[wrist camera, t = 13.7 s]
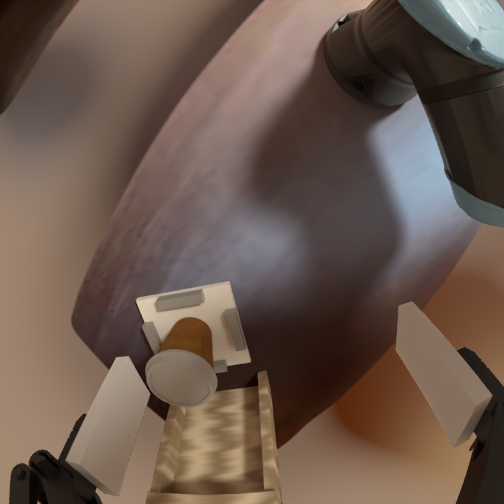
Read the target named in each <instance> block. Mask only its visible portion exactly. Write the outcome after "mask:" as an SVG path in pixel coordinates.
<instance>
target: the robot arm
mask: <svg viewBox="0 0 504 504" xmlns="http://www.w3.org/2000/svg"><path fill="white" fill-rule="evenodd" d="M324 52H325V58H326V62H327V65H328V67H329V69H330V71H331V73H332V75H333V77H334V78H335V79H336V81H337V82H338V83H339V84H340V86H341V87H342V88H343V89H344V90H345V91H347V92H348V93H349V94H350V95H352V96H353V97H355V98H356V99H358V100H360V101H362V102H364V103H366V104H369V105H372V106H377V107H391V106H396V105H400V104H403V103H405V102H407V101H409V100H411V99H412V98H413V97H414V96H415V95H416V94H417V93H418V95H419V97H420V100H421V102H422V105H423V107H424V109H425V112H426V114H427V117H428V119H429V122H430V124H431V127H432V130H433V133H434V135H435V138H436V141H437V144H438V147H439V150H440V153H441V156H442V160H443V163H444V171H445V174H446V176H447V178H448V180H449V181H450V184H451V187H452V191H453V194H454V197H455V200H456V202H457V204H458V205H459V207H460V208H461V209H463V210H464V211H465V212H466V214H467V215H469V216H470V217H472V218H473V219H475V220H477V221H479V222H482V223H484V224H488V225H492V226H496V227H504V11H503V9H502V8H501V7H500V5H499V4H498V2H497V1H496V0H373V1H372V2H371V3H370V5H369V6H368V7H367V8H366V9H363V10H359V11H355V12H352V13H349V14H346V15H344V16H343V17H341V18H340V19H338V20H337V21H336V22H335V24H334V25H333V26H332V27H331V29H330V30H329V32H328V34H327V36H326V39H325V45H324ZM396 351H397V353H398V355H399V356H400V358H401V359H402V361H403V362H404V364H405V365H406V367H407V369H408V370H409V372H410V374H411V375H412V376H413V378H414V380H415V382H416V383H417V385H418V387H419V388H420V390H421V391H422V393H423V395H424V397H425V398H426V400H427V402H428V403H429V405H430V407H431V409H432V410H433V412H434V414H435V415H436V417H437V419H438V421H439V423H440V424H441V426H442V428H443V430H444V431H445V433H446V435H447V437H448V439H449V441H450V443H451V444H452V446H453V448H454V447H456V446H458V445H460V444H462V443H463V442H465V441H467V440H469V438H470V437H471V435H472V433H473V432H474V433H475V434H476V436H477V438H476V439H475V441H474V442H473V444H472V445H471V447H470V449H469V451H471V450H472V449H473V452H472V455H471V459H470V463H469V466H468V469H467V473H466V476H465V479H464V482H463V485H462V488H461V491H460V494H459V496H458V499H457V502H456V504H504V387H503V385H502V384H501V383H500V382H499V380H498V379H497V378H496V377H495V376H494V374H493V373H492V372H491V371H490V370H489V368H487V367H486V365H485V364H484V363H483V362H481V359H480V358H479V357H478V356H477V355H476V354H475V352H473V351H471V350H469V349H467V348H466V347H464V348H462V349H459V350H457V351H456V350H455V348H454V347H453V346H452V345H451V344H450V343H449V341H448V340H447V339H446V338H445V337H444V336H443V335H442V334H441V332H440V331H439V330H438V329H437V328H436V327H435V326H434V324H433V323H432V322H431V321H430V320H429V319H428V318H427V317H426V316H425V315H424V313H423V312H422V311H421V310H420V309H419V308H418V307H417V306H416V305H415V304H414V303H413V302H409V303H406V304H403V305H399V309H398V327H397V341H396ZM149 397H150V393H149V391H148V389H147V388H146V386H145V384H144V383H143V381H142V379H141V377H140V376H139V374H138V372H137V370H136V369H135V367H134V365H133V363H132V361H131V360H130V358H129V356H128V357H116V359H115V361H114V363H113V365H112V367H111V368H110V370H109V372H108V374H107V376H106V378H105V380H104V382H103V384H102V385H101V387H100V390H99V391H98V393H97V395H96V397H95V399H94V401H93V403H92V405H91V407H90V409H89V411H88V413H87V414H83V415H82V416H81V417H80V418H79V419H78V420H77V421H76V423H75V425H74V428H73V431H72V432H71V433H70V438H68V440H67V442H66V444H65V446H64V448H63V451H62V452H61V455H60V457H59V459H58V460H57V459H56V458H55V457H53V456H52V455H51V454H50V453H49V452H48V451H47V450H39V451H37V452H35V453H34V454H33V455H32V456H31V458H30V460H29V466H27V465H26V464H24V463H20V464H18V465H16V466H15V467H14V468H13V470H12V473H11V480H10V497H9V504H37V501H38V502H39V503H40V504H102V502H101V500H100V497H99V496H98V494H97V493H96V492H95V491H96V488H98V489H99V490H101V491H102V492H103V493H105V494H109V495H114V496H119V493H120V490H121V486H122V483H123V479H124V476H125V472H126V469H127V466H128V462H129V459H130V456H131V452H132V449H133V446H134V443H135V440H136V436H137V433H138V430H139V427H140V423H141V421H142V417H143V415H144V411H145V409H146V406H147V403H148V400H149ZM473 447H474V448H473ZM32 469H33V470H32Z"/></svg>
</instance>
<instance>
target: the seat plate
mask: <svg viewBox="0 0 504 504" xmlns="http://www.w3.org/2000/svg"><path fill="white" fill-rule="evenodd" d="M136 303H137V305H138V308H139V310H140V312H141V315H142V317H143V320H144V322H145V323H144V324H143V326H142V329H143V331H144V333H145V335H146V337H147V340H148V342H149V344H150V346H151V348H152V350H153V352H154V355H156V354H157V352H158V350H159V349H160V347H161V345H162V344H163V342H164V341H165V339H166V338H167V336H168V334H169V333H170V331H171V330H172V328H173V326H174V325H175V323H176V322H177V321H178V320H180V319H182V318H186V317H194V318H198V319H200V320H202V321H204V322H205V323H206V324H207V325H208V326H209V327H210V329H211V332H212V347H213V364H214V372H215V373H221V372H227V367H228V366H230V365H236V364H243V363H249V362H251V358H250V354H249V351H248V347H247V344H246V340H245V337H244V333H243V329H242V326H241V322H240V318H239V315H238V311H237V307H236V304H235V300H234V296H233V292H232V289H231V285H230V281H226V282H221V283H216V284H211V285H205V286H200V287H195V288H189V289H184V290H178V291H173V292H167V293H162V294H156V295H150V296H145V297H139V298H137V300H136Z"/></svg>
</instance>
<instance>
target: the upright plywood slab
mask: <svg viewBox="0 0 504 504" xmlns="http://www.w3.org/2000/svg"><path fill="white" fill-rule="evenodd" d="M280 488H281V487H280V477H279V467H278V457H277V447H276V437H275V427H274V417H273V407H272V398H271V389H270V385H269V381H268V377H267V373H266V371H262V372H258V386H253V387H247V388H240V389H232V390H224V391H216V392H214V394H213V395H212V396H211V397H210V399H209V400H208V401H207V402H205V403H204V404H202V405H199V406H195V407H179V406H175V405H171V404H170V407H169V411H168V415H167V419H166V423H165V427H164V432H163V436H162V440H161V444H160V449H159V453H158V457H157V462H156V466H155V471H154V476H153V480H152V485H151V489H150V492H148V494H147V499H146V504H282V497H281V489H280Z"/></svg>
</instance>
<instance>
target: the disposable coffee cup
mask: <svg viewBox="0 0 504 504" xmlns="http://www.w3.org/2000/svg"><path fill="white" fill-rule="evenodd" d="M145 374H146V379H147V384H148V386H149V388H150V390H151V391H152V392H153V393H154V394H155V396H157V397H158V398H159V399H161V400H162V401H164V402H167V403H169V404H171V405H175V406H179V407H195V406H199V405H202V404H204V403H205V402H207V401H208V400H209V399H210V397H211V396H212V395H213V394H214V392H215V391H216V388H217V376H216V374H215V372H214V364H213V347H212V332H211V329H210V327H209V326H208V325H207V324H206V323H205V322H204V321H202V320H200V319H198V318H194V317H186V318H182V319H180V320H178V321H177V322H176V323H175V325H174V326H173V328H172V330H171V331H170V333H169V334H168V336H167V338H166V339H165V341H164V342H163V344H162V345H161V347H160V349H159V350H158V352H157V354H156V355H154V356H153V357H152V358H151V359H150V360H149V361H148V363H147V365H146V369H145Z"/></svg>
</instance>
